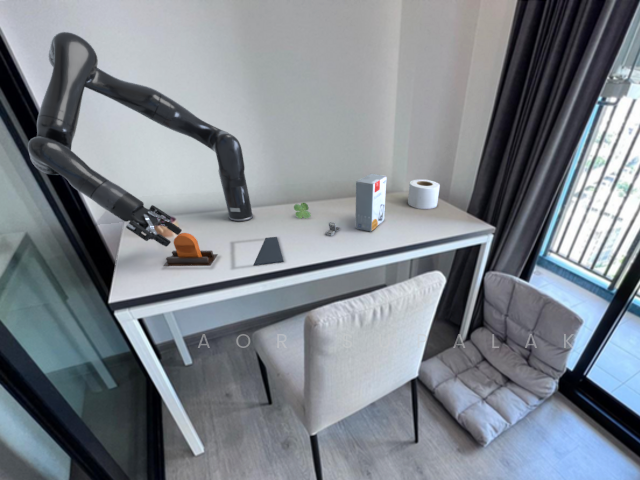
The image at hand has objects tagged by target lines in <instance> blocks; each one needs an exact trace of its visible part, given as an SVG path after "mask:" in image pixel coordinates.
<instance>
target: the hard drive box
mask: <svg viewBox="0 0 640 480" xmlns="http://www.w3.org/2000/svg"><path fill="white" fill-rule="evenodd" d="M386 192H387V176H386V175H381V174H375V173H369V174H368V175H365V176H364V177H361V178H360V179H357V180H356V181H355V229H357V230H361V231H365V232H366V231H367V232H372V231H373V230H375V229H376V228H377V227H378V226H380V225H381V224H382V223H383V222H384V221H385V212H386V211H385V210H386V194H387V193H386Z"/></svg>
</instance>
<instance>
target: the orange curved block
mask: <svg viewBox="0 0 640 480" xmlns="http://www.w3.org/2000/svg"><path fill="white" fill-rule="evenodd" d="M173 246H174V248H175V251H177V254H178V257H202V255H201V251H202V250H201V248H200V245H199V242H198V239H197V238H196V237H195V236H194V235H193V234H191V233H188V232H181V233H180V234H179V235H176V237H175V238H174V239H173Z"/></svg>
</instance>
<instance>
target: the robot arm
mask: <svg viewBox="0 0 640 480" xmlns="http://www.w3.org/2000/svg"><path fill="white" fill-rule="evenodd" d="M48 61H49V64H50V65H51V67H53V68H52V73H51V76H50V80H49V83H48V85H47V89H46V90H45V93H44V96H43V99H42V102H41V105H40V108H39V112H38V115H37V120H36V132H37V133H36V136H34V137H32V138H30V140H29V141H28V143H27V150H28V154H29V158H30V161H31V163H32V164H33V165H34V167H35V168H36V169H37V170H39V172H40V171H41V172H42V173H44V174H46V175H49V176H50V175H52V176H59V175H60V176H62V177H64V178H65V179H66V180H67V181H68V183H69V185H71V187H72V188H73V189H75V190H76V191H78V192H80V193H81V194H83V195H84V196H86V197H87V198H89V199H91V200H92V201H93V202H95V203H96V204H97V205H98V206H99V207H101V208H103V209H104V210H106V211H108V212H109V213H111V214H112V215H114V216H115V217H117V218H119V219H120V220H122V221H124V222H125V223H126V222H127V225H126V226H125V228H126V229H127V230H129V231H130V232H132V233H133V234H134V235H136V236H138V237H139V238H141V239H142V240H144V241H146V242H148V241H149V240H152V241H153V240H154V241H155V242H157V243H159V244H160V245H162V246H164V247H168V246H169V245H170V244H171V243H172V241H171V240H170V239H168V238H167V237H165V236H164V235H162V234H160V233H158V232H157V230H156V229H155V226H156V227H159V226H161V227H165V228H166V229H167V230H169V231H170V232H172V233H173V234H175V235H176V236H178V235H179V234H181V233H182V232H183V230H182V228H180V227H179V226H177V225H176V224H174V223H173V222H172V220H171V219H172V216H171V215H169V214H167V213H166V212H165V211H163V210H161V208H158V207H157V206H155V205H153V204H151V206H150V207H149V208H146V207H145V206H144V204H145V203H144V201H142V200H141V199H139V198H137V197H136V195H133V194H131V193H130V192H129V191H127V189H125V188H123V187H121V186H120V185H118V184H116V183H115V182H113V181H111V180H110V179H108V178H106V177H105V176H104V175H102V174H101V173H99V172H98V171H96V170H95V169H93V168H91V167H90V166H89V165H88V164H87V163H86V162H85V161H84V160H83V159H82V158H80V156H78V154H76V153H75V152H74V151H72V147H73V141H74V138H75V136H76V132H77V127H78V123H79V118H80V112H81V106H82V101H83V95H84V92H85V88H86V89H88V90H91V91H93V92H96V93H97V94H100V95H102V96H105V97H106V98H109V99H111V100H113V101H115V102H117V103H119V104H121V105H122V106H125V107H126V108H128V109H131V110H132V111H135V112H137V113H138V114H140V115H142V116H143V117H146V118H147V119H149V120H151V121H152V122H154V123H157V124H159V125H161V126H163V127H164V128H166V129H169V130H170V131H173V132H175V133H178V134H180V135H181V134H182V135H184V136H186V137H188V138H192V139H193V140H195V141H197V142H199V143H201V144H202V145H204V146H206V148H208V149H210V150H211V151H213V152H214V153H215V155H216V156H215V157H216V160H217V164H218V169H217V170H218V171H217V172H218V175H219V179H220V184H221V188H222V192H223V196H224V201H225V205H226V209H227V213H228V218H229V220H231V221H233V222H246V221H250V220H251V219H253V218H254V214H253V210H252V205H251V200H250V194H249V190H248V189H249V188H248V184H247V179H246V174H245V167H246V166H245V162H244V156H243V154H244V153H243V149H242V146H241V143H240V141H239V140H238V139H237V137H236V136H235V135H233V134H231V133H229V131H225V130H223V129H221V128H218V127H216V126H215V125H212V124H210V123H208V122H206V121H205V120H203V119H201V118H199V117H198V116H196V115H195V114H193V113H192V112H191V111H189V110H188V109H187V108H186V107H184V106H183V105H181V104H180V103H179V102H177V101H176V100H173V98H171V97H169V96H167V95H165V94H164V93H162V92H160V91H159V90H157V89H154V88H152V87H149V86H146V85H143V84H138V83H134V82H129V81H126V80H122V79H120V78H117V77H115V76H113V75H111V74H109V73H107V72H106V71H104V70H102V69H100V68H99V67H98V64H99V60H98V54H97V53H96V51H95V49H94V47H93V46H92V45H91V43H89V42H88V41H87V40H86V39H84V38H83V37H81V36H80V35H78V34H75V33H73V32H69V31H62V32H58V33H57V34H55V35H54V36H53V38H52V39H51V41H50V46H49V51H48Z"/></svg>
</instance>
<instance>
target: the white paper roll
mask: <svg viewBox="0 0 640 480" xmlns="http://www.w3.org/2000/svg"><path fill="white" fill-rule="evenodd" d="M440 187H441V185H440V183H438V182H437V181H434V180H430V179H413V180H411V181H410V182H409V187H408V197H407V198H408V199H407V205H409V206H410V207H412V208H414V209H420V210H432V209H435V208H437V206H438V202H439V194H440Z"/></svg>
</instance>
